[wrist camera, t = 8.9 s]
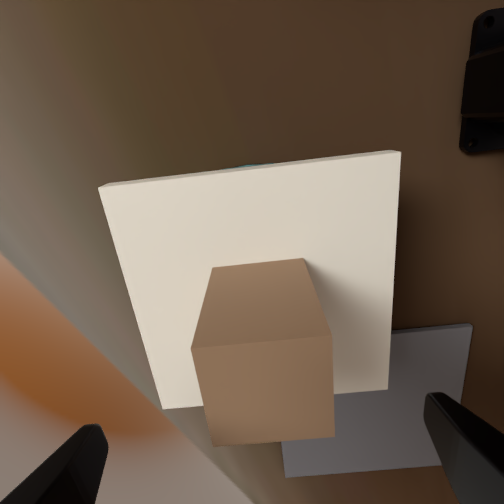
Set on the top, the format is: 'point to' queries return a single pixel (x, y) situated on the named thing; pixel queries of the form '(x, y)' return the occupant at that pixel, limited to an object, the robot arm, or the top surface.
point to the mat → (389, 409)
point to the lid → (263, 288)
